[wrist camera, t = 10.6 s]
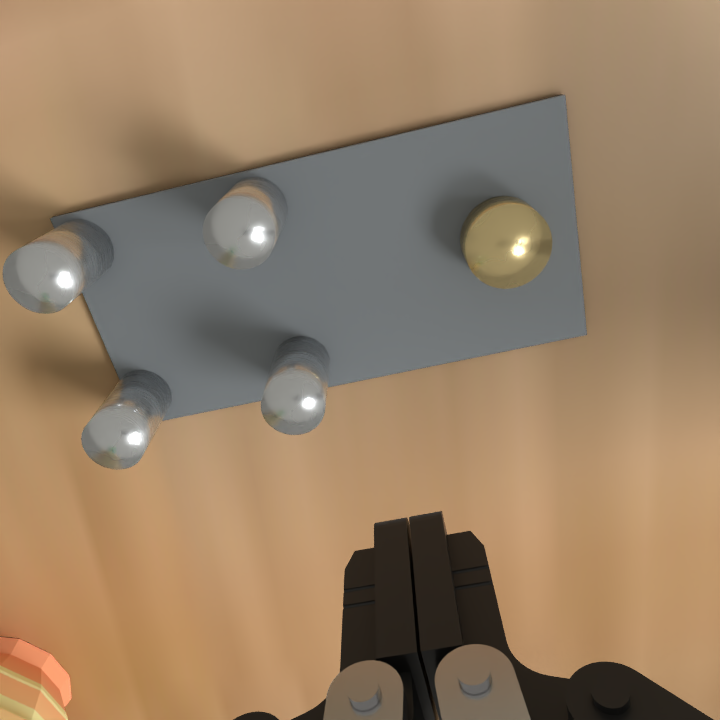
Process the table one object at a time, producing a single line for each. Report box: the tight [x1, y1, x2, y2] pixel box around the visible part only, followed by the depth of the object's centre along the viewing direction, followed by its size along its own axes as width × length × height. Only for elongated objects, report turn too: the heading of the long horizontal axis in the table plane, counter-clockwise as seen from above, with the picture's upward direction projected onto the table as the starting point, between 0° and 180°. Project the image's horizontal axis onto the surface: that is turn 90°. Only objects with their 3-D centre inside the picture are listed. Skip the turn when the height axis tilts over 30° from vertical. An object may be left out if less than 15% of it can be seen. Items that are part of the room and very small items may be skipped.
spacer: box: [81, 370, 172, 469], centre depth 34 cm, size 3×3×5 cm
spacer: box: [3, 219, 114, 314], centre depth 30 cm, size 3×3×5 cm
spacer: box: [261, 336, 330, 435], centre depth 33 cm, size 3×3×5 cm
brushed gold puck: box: [460, 196, 552, 289], centre depth 31 cm, size 4×4×2 cm
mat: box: [50, 95, 587, 421], centre depth 33 cm, size 25×12×1 cm, turn 103°
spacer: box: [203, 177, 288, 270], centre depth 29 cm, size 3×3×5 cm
